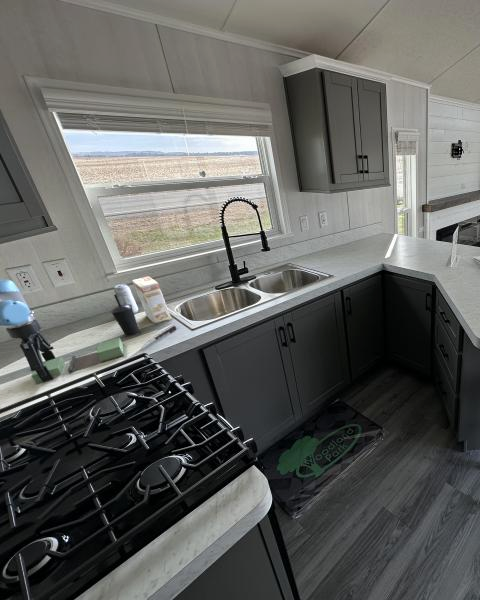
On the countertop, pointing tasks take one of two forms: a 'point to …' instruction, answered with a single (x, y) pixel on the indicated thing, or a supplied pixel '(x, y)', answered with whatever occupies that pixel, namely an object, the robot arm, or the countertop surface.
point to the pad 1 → (50, 368)
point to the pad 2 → (110, 349)
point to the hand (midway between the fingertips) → (52, 373)
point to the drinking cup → (125, 318)
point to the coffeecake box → (151, 299)
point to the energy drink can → (125, 296)
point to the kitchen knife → (162, 334)
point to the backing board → (87, 361)
